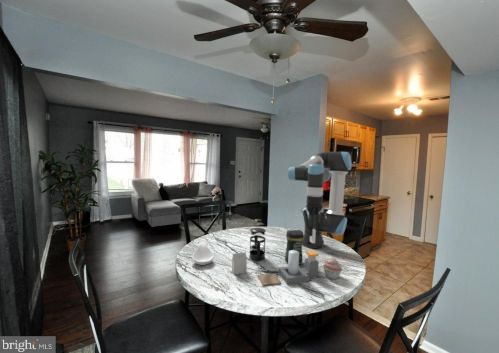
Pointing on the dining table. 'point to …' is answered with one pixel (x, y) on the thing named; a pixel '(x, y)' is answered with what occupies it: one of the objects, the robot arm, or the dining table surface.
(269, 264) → the dining table surface
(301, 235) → the coffee jar
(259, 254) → the french press
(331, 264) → the cupcake
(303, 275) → the housing
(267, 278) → the pad
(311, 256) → the orange block
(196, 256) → the spoon rest
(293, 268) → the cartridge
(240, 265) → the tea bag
